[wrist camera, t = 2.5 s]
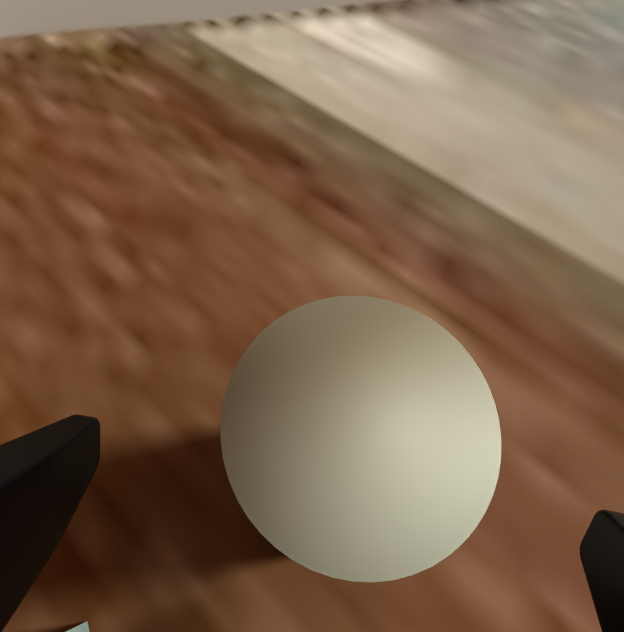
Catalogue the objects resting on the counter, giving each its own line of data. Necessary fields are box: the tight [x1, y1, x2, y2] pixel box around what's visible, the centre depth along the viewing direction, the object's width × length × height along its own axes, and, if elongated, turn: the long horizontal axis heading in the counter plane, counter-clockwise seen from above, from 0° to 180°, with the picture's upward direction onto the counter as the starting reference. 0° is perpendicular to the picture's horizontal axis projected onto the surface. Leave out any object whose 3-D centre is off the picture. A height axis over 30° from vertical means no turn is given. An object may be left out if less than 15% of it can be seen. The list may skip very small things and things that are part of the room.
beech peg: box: [220, 296, 501, 582], centre depth 12 cm, size 4×4×10 cm
